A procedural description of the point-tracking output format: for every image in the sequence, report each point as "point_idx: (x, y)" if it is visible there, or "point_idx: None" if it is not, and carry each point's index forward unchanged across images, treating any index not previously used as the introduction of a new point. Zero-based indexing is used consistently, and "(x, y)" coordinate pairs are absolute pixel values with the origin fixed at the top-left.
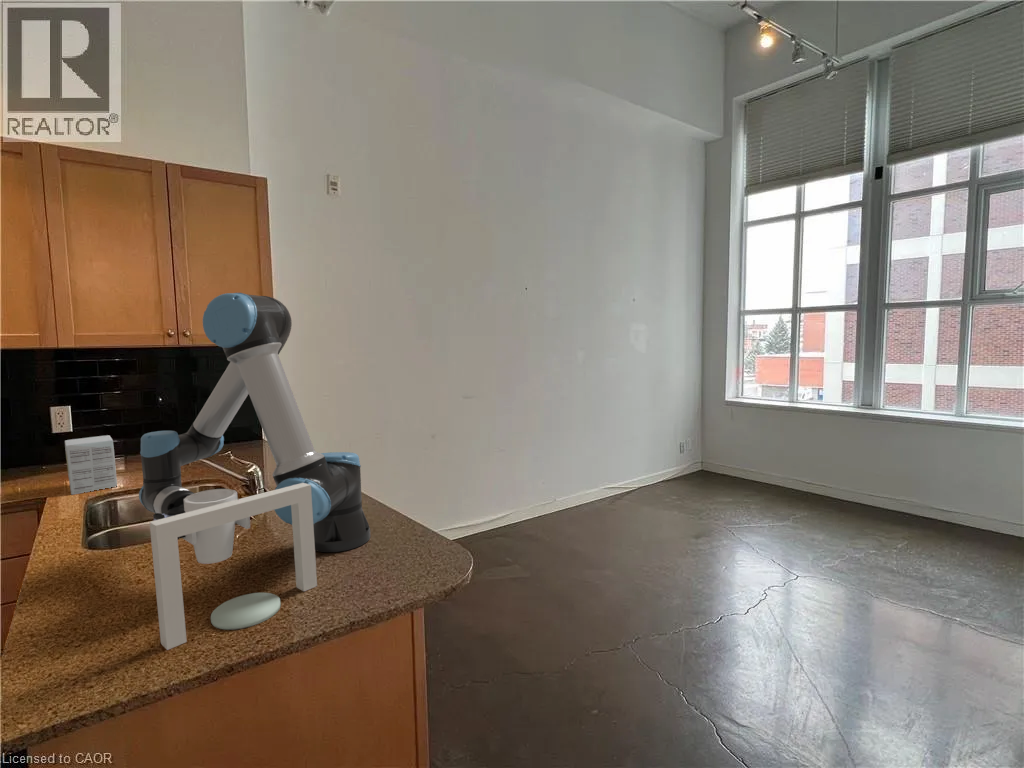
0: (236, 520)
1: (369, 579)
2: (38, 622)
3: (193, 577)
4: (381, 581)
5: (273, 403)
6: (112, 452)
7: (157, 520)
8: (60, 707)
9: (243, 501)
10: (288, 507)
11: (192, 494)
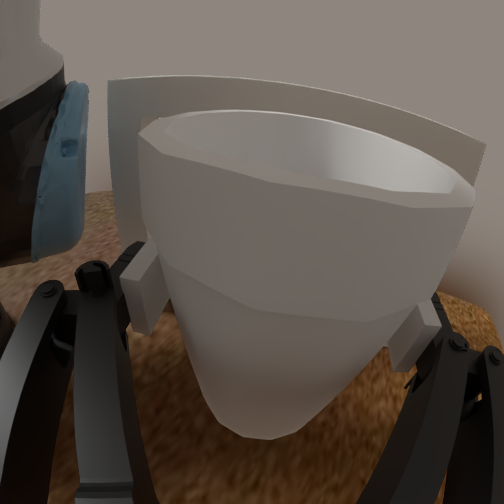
0: (166, 288)
1: (109, 243)
2: None
3: None
4: (114, 232)
5: None
6: None
7: (474, 138)
8: (469, 317)
9: (295, 84)
10: (81, 180)
11: (437, 201)
